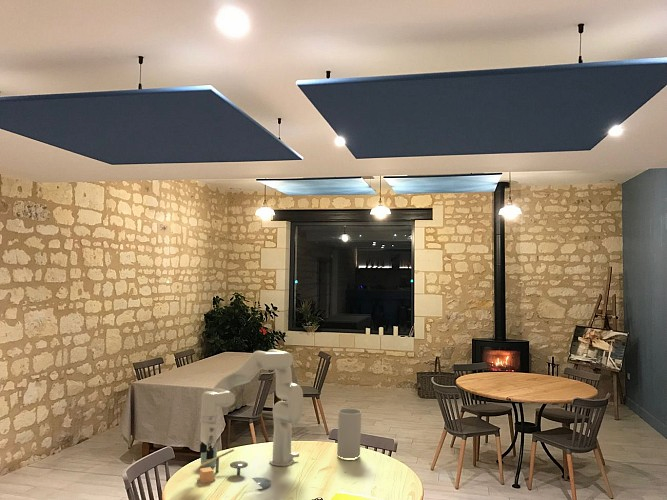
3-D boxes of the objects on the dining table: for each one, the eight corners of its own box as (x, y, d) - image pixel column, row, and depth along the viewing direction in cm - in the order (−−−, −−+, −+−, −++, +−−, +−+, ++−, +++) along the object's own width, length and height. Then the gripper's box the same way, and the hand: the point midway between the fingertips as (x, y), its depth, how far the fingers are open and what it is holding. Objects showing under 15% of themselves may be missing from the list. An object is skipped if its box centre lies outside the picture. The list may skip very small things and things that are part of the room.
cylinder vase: (362, 460, 285) (363, 413, 287) (339, 461, 283) (341, 414, 284) (356, 453, 298) (357, 408, 299) (334, 453, 295) (336, 408, 296)
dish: (264, 478, 256) (264, 475, 256) (274, 487, 246) (275, 484, 246) (241, 482, 250) (241, 480, 250) (250, 492, 240) (251, 489, 240)
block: (209, 477, 251) (210, 467, 251) (213, 481, 246) (213, 470, 247) (199, 479, 248) (199, 468, 248) (202, 483, 244) (203, 472, 244)
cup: (212, 472, 262) (213, 451, 262) (197, 470, 263) (198, 450, 264) (218, 466, 269) (219, 446, 270) (204, 465, 271) (205, 445, 271)
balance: (239, 469, 266) (239, 446, 267) (249, 479, 254) (250, 455, 255) (190, 477, 254) (191, 454, 254) (199, 488, 241) (201, 463, 242)
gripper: (222, 422, 243) (220, 460, 242) (210, 413, 258) (208, 449, 257) (206, 423, 239) (204, 462, 238) (195, 414, 254) (192, 451, 253)
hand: (206, 455), depth 247 cm, fingers open, 9 cm apart
